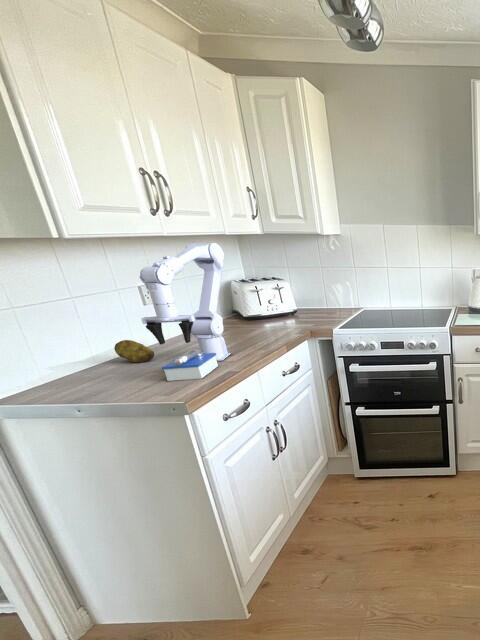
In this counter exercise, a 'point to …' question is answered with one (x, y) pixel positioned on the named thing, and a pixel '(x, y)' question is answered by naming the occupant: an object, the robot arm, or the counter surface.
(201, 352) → the spoon
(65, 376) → the counter surface
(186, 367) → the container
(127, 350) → the potato
